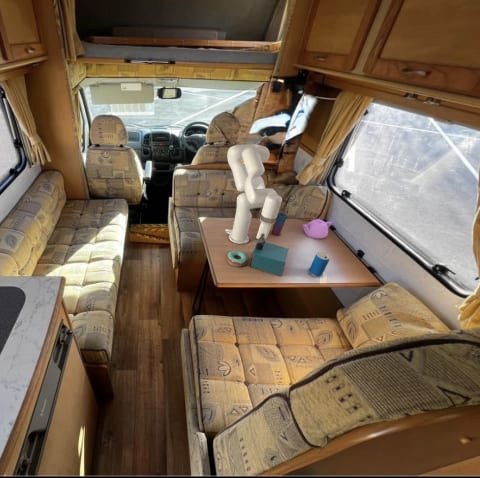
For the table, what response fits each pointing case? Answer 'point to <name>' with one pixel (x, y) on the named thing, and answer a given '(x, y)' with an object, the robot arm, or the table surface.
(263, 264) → the cool box
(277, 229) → the cup
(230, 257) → the donut
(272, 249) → the cool box lid
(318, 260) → the beverage can
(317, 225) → the teapot
